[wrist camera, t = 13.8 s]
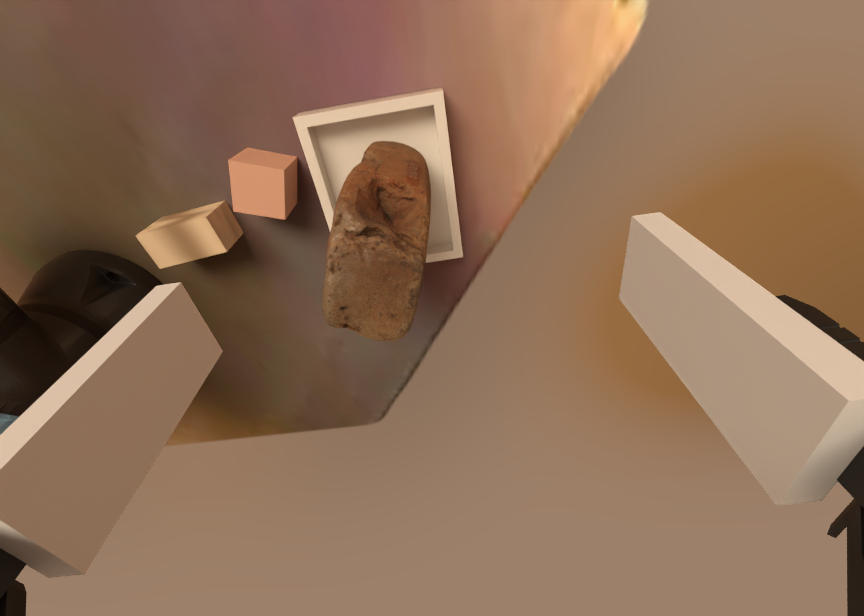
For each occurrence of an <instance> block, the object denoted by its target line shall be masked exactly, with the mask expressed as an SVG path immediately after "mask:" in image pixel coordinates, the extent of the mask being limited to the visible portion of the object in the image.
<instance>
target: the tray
mask: <svg viewBox="0 0 864 616" xmlns="http://www.w3.org/2000/svg"><path fill="white" fill-rule="evenodd" d="M293 120H294V123H295V126H296V129H297V132H298V135H299V138H300V141H301V144H302V147H303V151H304V154H305V157H306V160H307V163H308V166H309V169H310V172H311V175H312V178H313V181H314V184H315V187H316V190H317V193H318V196H319V199H320V202H321V205H322V208H323V211H324V215H325V218H326V221H327V224H328V227H329V230H330V231H331V228H332V223H333V215H334V210H335V206H336V202H337V199H338V196H339V193H340V191H341V189H342V186H343V184H344V182H345V180H346V178H347V176H348V174H349V173H350V172H351V171H352V169H353V168H354V167H355V166H357V165H358V164H359V163H361V161H362V158H363V156H364V152H365V151H366V149H367V148H368V146H369V145H370V144H372V143H373V142H377V141H393V142H398V143H403V144H406V145H408V146H410V147H412V148H414V149H416V150H417V151H418V152H420V153H421V154H422V155H423V157H424V159H425V161H426V163H427V167H428V171H429V177H430V184H431V212H430V226H429V238H428V243H427V254H426V263H428V262H435V261H441V260H448V259H455V258H461V257H463V251H462V243H461V235H460V227H459V218H458V210H457V202H456V194H455V185H454V177H453V169H452V161H451V152H450V144H449V136H448V128H447V119H446V111H445V103H444V94H443V89H442V87H438V88H433V89H427V90H422V91H416V92H410V93H405V94H399V95H394V96H388V97H383V98H377V99H372V100H366V101H360V102H355V103H349V104H344V105H338V106H333V107H327V108H322V109H316V110H310V111H305V112H300V113H299V114H297V115H296V116H294V117H293Z"/></svg>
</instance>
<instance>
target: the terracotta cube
mask: <svg viewBox="0 0 864 616" xmlns="http://www.w3.org/2000/svg"><path fill="white" fill-rule="evenodd" d="M228 162H229V172H230V182H231V192H232V202H233V211H235V212H241V213H247V214H253V215H259V216H265V217H271V218H277V219H284V220H285V219H286V218H287V216H288V215H289V214H290V212H291V211H292V209H293V208H294V207H295V205H296V204H297V157H295V156H290V155H284V154H279V153H273V152H268V151H263V150H257V149H252V148H246V149H245V150H243V151H241V152H240V153H238V154H237V155H235V156H234V157H232V158H231V159H229V160H228Z"/></svg>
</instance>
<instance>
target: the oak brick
mask: <svg viewBox="0 0 864 616" xmlns="http://www.w3.org/2000/svg"><path fill="white" fill-rule="evenodd" d="M242 234H243V231H242V229H241V227H240V225H239V224H238V222H237V220H236V218H235V217H234V215H233V213H232V211H231V210H230V208H229V206H228V204H227V203H226V201H221V202H218V203H214V204H210V205H206V206H203V207H199V208H195V209H191V210H188V211H184V212H180V213H177V214H173V215H169V216H165V217H162V218H160V219H158V220H157V221H155V222H154V223H153V224H151V225H150V226H148V227H147V228H146V229H144V230H143V231H141V232H140V233H139V234H137V235H136V237H137V239H138V240H139V242H140V243H141V244H142V246H143V247H144V248H145V250H146V251H147V252H148V254H149V255H150V256H151V258H152V259H153V260H154V262H155V263H156V264H157V266H158V267H159V268H160V269H161V268H165V267H169V266H173V265H177V264H181V263H185V262H189V261H193V260H197V259H201V258H205V257H209V256H213V255H217V254H221V253H225V252H227V251H228V250H229V249H230V248H231V247H232V246H233V245H234V243H235V242H236V241H237V240H238V239H239V238H240V237H241V235H242Z"/></svg>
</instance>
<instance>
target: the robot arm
mask: <svg viewBox="0 0 864 616" xmlns="http://www.w3.org/2000/svg"><path fill="white" fill-rule="evenodd" d="M619 299H620V300H621V302H622V303H623V304H624V306H625V307H626V308H627V309H628V311H629V312H630V313H631V315H632V316H633V317H634V319H635V320H636V321H637V323H638V324H639V325H640V327H641V328H642V329H643V331H644V332H645V333H646V335H647V336H648V337H649V338H650V340H651V341H652V342H653V344H654V345H655V346H656V348H657V349H658V350H659V352H660V353H661V354H662V356H663V357H664V358H665V360H666V361H667V362H668V363H669V365H670V366H671V367H672V369H673V370H674V371H675V373H676V374H677V375H678V377H679V378H680V379H681V380H682V382H683V383H684V385H685V386H686V387H687V388H688V390H689V391H690V392H691V394H692V395H693V396H694V398H695V399H696V400H697V402H698V403H699V404H700V405H701V407H702V408H703V409H704V411H705V412H706V413H707V415H708V416H709V417H710V419H711V420H712V421H713V423H714V424H715V425H716V427H717V428H718V429H719V431H720V432H721V433H722V434H723V436H724V437H725V438H726V440H727V441H728V442H729V444H730V445H731V446H732V448H733V449H734V450H735V452H736V453H737V454H738V456H739V457H740V458H741V459H742V461H743V462H744V463H745V465H746V466H747V467H748V469H749V470H750V471H751V473H752V474H753V475H754V477H755V478H756V479H757V480H758V482H759V483H760V484H761V486H762V487H763V488H764V490H765V491H766V492H767V494H768V495H769V496H770V498H771V499H772V500H773V502H774V503H775V504H776V505H786V504H796V503H806V502H816V501H822V500H823V499H824V498H825V496H826V495H827V494H828V493H829V491H830V490H831V489H832V488H833V486H834V485H835V484H836V483H837V482H839V483H840V484H841V485H842V486H843V487H844V488H845V489H846V490H847V491H848V492H849V493H850V494H851V495H852V497H853V498H854V499H853V500H852V502H851V503H850V504H849V505H848V506H847V507H846V508H845V509H844V511H843V512H842V513H841V514H840V515H839V516H838V517H837V518H836V520H835V521H834V522H833V523H832V524H831V526H830V528H829V531H828V533H827V534H828V535H830V536H832V537H835V538H836V537H837V536H838V535H839V534H840V533H841V532H842V531H843V530H844V528H846V527H847V586H848V587H847V594H848V595H847V596H848V597H847V602H848V616H864V342H860V340H859V339H860V338H859V337H857V336H856V335H854V334H853V333H852V332H850V331H849V330H847V329H846V328H840V327H839V324H838V323H837V322H836V321H834V320H833V319H831V318H829V317H828V316H827V315H825V314H824V313H822V312H821V311H820V310H818V309H817V308H815V307H813V306H810V305H808V304H805V303H803V302H800V301H798V300H796V299H793V298H791V297H789V296H786V295H782V296H774V295H772V294H771V293H770V292H768V291H767V290H766V289H764V288H763V287H762V286H760V285H759V284H757V283H756V282H755V281H753V280H752V279H751V278H749V277H748V276H747V275H745V274H744V273H742V272H741V271H740V270H738V269H737V268H736V267H734V266H733V265H732V264H730V263H729V262H727V261H726V260H725V259H723V258H722V257H721V256H719V255H718V254H717V253H715V252H714V251H712V250H711V249H710V248H708V247H707V246H706V245H704V244H703V243H702V242H700V241H699V240H697V239H696V238H695V237H693V236H692V235H691V234H689V233H688V232H687V231H685V230H684V229H683V228H681V227H680V226H678V225H677V224H676V223H674V222H673V221H672V220H670V219H669V218H668V217H666V216H665V215H663V214H662V213H661V212H658V213H651V214H644V215H638V216H632V218H631V225H630V231H629V238H628V244H627V251H626V257H625V263H624V270H623V276H622V283H621V289H620V295H619ZM222 352H223V351H222V349H221V347H220V346H219V344H218V343H217V341H216V339H215V338H214V336H213V334H212V333H211V331H210V329H209V328H208V326H207V324H206V323H205V321H204V320H203V318H202V316H201V315H200V313H199V311H198V310H197V308H196V306H195V305H194V303H193V301H192V300H191V298H190V296H189V295H188V293H187V292H186V290H185V288H184V287H183V285H182V283H181V282H179V283H172V284H166V285H161V284H160V283H159V282H158V281H157V280H156V279H155V278H154V277H153V276H152V275H150V274H149V273H148V272H146V271H145V270H143V269H142V268H140V267H139V266H137V265H135V264H133V263H132V262H130V261H127V260H125V259H123V258H120V257H118V256H115V255H112V254H108V253H104V252H99V251H90V250H80V251H72V252H68V253H65V254H63V255H61V256H59V257H57V258H55V259H54V260H52V261H51V262H49V263H47V264H46V265H44V266H43V267H42V268H41V269H40V270H39V271H38V272H37V273H36V274H35V276H34V277H33V279H32V281H31V282H30V284H29V285H28V287H27V288H26V290H25V292H24V293H23V295H22V296H21V298H20V299H19V301H18V303H17V304H16V303H15V302H14V301H13V300H12V299H11V298H10V297H9V296H8V295H7V294H6V293H5V292H4V291H3V290H2V289H1V288H0V616H26V590H25V587H24V584H22V583H20V582H18V581H16V580H15V579H16V578H17V576H18V575H19V573H20V572H21V570H22V569H23V568H24V566H25V565H28V566H29V567H31V568H33V569H34V570H36V571H38V572H40V573H41V574H43V575H45V576H46V577H48V578H52V577H61V576H71V575H82V574H85V573H86V571H87V570H88V568H89V566H90V565H91V563H92V562H93V560H94V558H95V557H96V555H97V554H98V552H99V550H100V549H101V547H102V545H103V544H104V542H105V541H106V539H107V537H108V536H109V534H110V532H111V531H112V529H113V528H114V526H115V524H116V523H117V521H118V520H119V518H120V516H121V515H122V513H123V511H124V510H125V508H126V507H127V505H128V504H129V502H130V500H131V499H132V497H133V495H134V494H135V492H136V491H137V489H138V487H139V486H140V484H141V483H142V481H143V479H144V478H145V476H146V474H147V473H148V471H149V470H150V468H151V466H152V465H153V463H154V462H155V460H156V458H157V457H158V455H159V453H160V452H161V450H162V449H163V447H164V445H165V444H166V442H167V441H168V439H169V437H170V436H171V434H172V433H173V431H174V429H175V428H176V426H177V424H178V423H179V421H180V420H181V418H182V416H183V415H184V413H185V412H186V410H187V408H188V407H189V405H190V404H191V402H192V400H193V399H194V397H195V395H196V394H197V392H198V391H199V389H200V387H201V386H202V384H203V383H204V381H205V379H206V378H207V376H208V374H209V373H210V371H211V370H212V368H213V366H214V365H215V363H216V362H217V360H218V358H219V357H220V355H221V354H222Z"/></svg>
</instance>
